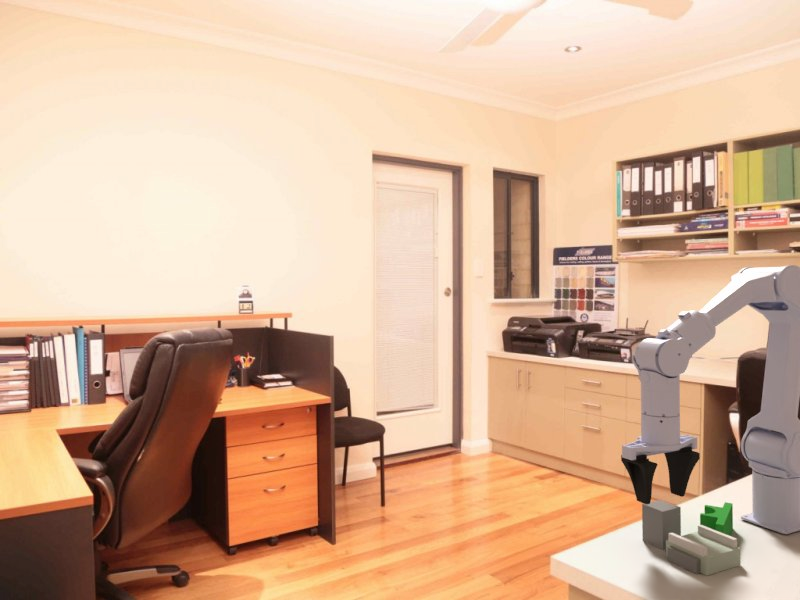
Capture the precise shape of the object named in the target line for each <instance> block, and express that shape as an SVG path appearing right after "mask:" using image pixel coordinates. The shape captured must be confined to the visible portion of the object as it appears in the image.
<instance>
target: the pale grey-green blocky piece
mask: <svg viewBox="0 0 800 600" xmlns="http://www.w3.org/2000/svg"><path fill="white" fill-rule="evenodd" d="M668 535H669V539H668V540H666V549H665V557H666V558H667V561H669V562H670V563H672V564H674V565H677V566H679V567H681V568H683V569H685V570H687V571H690V572H691V573H694V574H696V575H698V574H702V575H705V576H706V577H707V576H710V575H714V574H716V573H721V572H723V571H726V570H729V569H732V568H736V567H739V566H741V563H742V562H741V547H738V538H737V537H734V536H731V535H730V536H729V535H726V534H724V533H721V532H719V531H716V530H713V529H711V528H708V527H706V526H703V525H700V524H699V525H697V531H695V532H692V533H687V534H684V535H681V536H679V535H677V534H675V533H668Z"/></svg>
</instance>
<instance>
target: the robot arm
mask: <svg viewBox="0 0 800 600" xmlns="http://www.w3.org/2000/svg"><path fill="white" fill-rule="evenodd" d="M747 306H749V307H750V308H752V309H753V310H755V311H756V312H758V313H759V314H762V315H763V317H764V318H765V319H766V320H767V321H768V323H769V329H768V331H769V332H768V338H767V350H766V356H765V357H766V360H765V366H764V376H763V384H762V385H763V386H762V394H761V395H762V397H761V405H760V411H759V412H758V413H757V414H756V415H754V416H752V417H751V418H750V419H748V420H747V425H746V429H745V432H744V433H743V436H742V438H741V441H740V451H741V454H742V457H744V459H745V460H746V461H747V462H748V468H751V471H752V474H751V475H752V476H751V477H752V480H751V481H752V482H751V484H752V495H751V496H752V497H751V498H752V502H751V503H752V513H747V514H743V515H741V516H740V519H741V520H742V521H746V522H749V523H752V524H754V525H758V527H759V526H761V527H762V528H764V529H765V528H766V529H768V530H771V531H774V532H777V533H779V534H782V535H788V534H791V533H792V534H793V533H796V532H799V531H800V418H799V417H798V416H799V415H798V414H799V407H800V266H798V265H796V264H787V265H783V266H763V267H762V266H761V267H753V266H746V267H744V268H742V269H740V270H739V271H738V272H737V273H735V274H733V275H732V276H730V282H729V283H728V284H727V286H725V287H724V288H723V289H722V290H720V292H719V293H717V295H715V296H714V297H713V298H711V300H710V301H709V302H708V303H706V305H704V307H703V308H701V309H700V310H695V309H692V310H688V311H685V310H682V311H680V312H679V314H677V316H678V318H677V319H675V320H674V322H672V323H671V324H670V325H668V326H667V327H665V328H662V329H660V330H659V331H658V332H657V333H658V334H657V335H656V336H655V337H647V338H644V339H642V341H641V342H640V343H638V345H636V347H635V350H634V354H632V355H631V359H632V363H633V366H634V367H635V369H636V370H637V373H638V380H639V382H640V434H641V435H639V436H637V440H634V441H632V442H629V443H626V444H623V445H621V456H620V458H621V459H620V460H621V462H622V465H623V466H624V468H625V469H626V471H627V473H628V475H629V478H630V480H631V484H632V487H633V489H634V490H633V491H634V495H635V497H636V501H637V502H640V503H642V504H643V503H644V504H650V502H652V501H651V500H652V492H653V490H652V489H653V481H654V476H655V472H656V469H657V467H658V463H657V462H654V461H651V460H650V458H648V457H649V456H655V455H662V454H663V455H664V456H665V460H666V463H667V464H666V465H667V470H668V477H669V478H668V479H669V489H670V493H671V494H673V495H675V496H678V497H680V498H681V497H684V496H685V494H686V491H687V488H688V483H689V480H690V477H691V475H692V472H693V470H694V468H695V466H696V464H698V462H699V460H700V457H701V453H700V452H698V451H695V450H697V449H698V437H697V436H693V435H689V434H683V435H681V415H680V413H681V409H680V408H681V405H680V402H681V401H680V400H681V399H680V395H681V393H680V392H681V391H680V390H681V389H680V388H681V387H680V385H681V384H680V383H681V382H680V380H681V379H680V375H681V374H684V373H685V372H686V370H687V369H688V366H689V363H690V360H691V358H693V355H694V354H696V353H697V352H698V351H699V350H700V349H702V348H703V347H704V346H705V345H707V344H708V343H709V342H710V341H712V340H713V339H714V338H715V336H716V330H717V329H716V327H717V326H718V325H720V324H721V323H723V322H724V321H726V320H728V319H729V318H730V317H732V316H733V315H734V314H736V313H737V312H739V311H740V310H742V309H744V307H747Z"/></svg>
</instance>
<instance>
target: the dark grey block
mask: <svg viewBox="0 0 800 600" xmlns="http://www.w3.org/2000/svg"><path fill="white" fill-rule="evenodd" d="M641 507H642V508H641V510H642V511H641V512H642V513H641V516H642V517H641V518H642V519H641V522H642V524H641V525H642V530H641V531H642V541H643V542H645V543H647V544H649V545H652V546H654V547H656V548H659V549H660V550H663V551H664V550H666V540H668V539H669V535H668V533H675V534H677V535H679V536H682V531H681V530H682V519H681V515H682V514H681V512H682V511H681V509H682V508H681V506H678V505H675V504H672V503H670V502H667V501H665V500H662V499H657V500H652V501H650V504H644V503H642V504H641Z"/></svg>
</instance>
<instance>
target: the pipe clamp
mask: <svg viewBox="0 0 800 600" xmlns="http://www.w3.org/2000/svg"><path fill="white" fill-rule="evenodd" d="M733 506H734V505H733V503H732V502H726V501H725V502H724V504H723V506H722V507H720V506H714V505H708V504H704V512H700V513H699V522H700V524H699V525H703V526H706V527H708V528H711V529H713V530H716V531H719V532H721V533H724V534H726V535H729V536H731V535H732V533H733V530H734V525H733V524H734V522H733V521H734V519H733V517H734V516H733V513H734V512H733V509H734V508H733Z"/></svg>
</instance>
